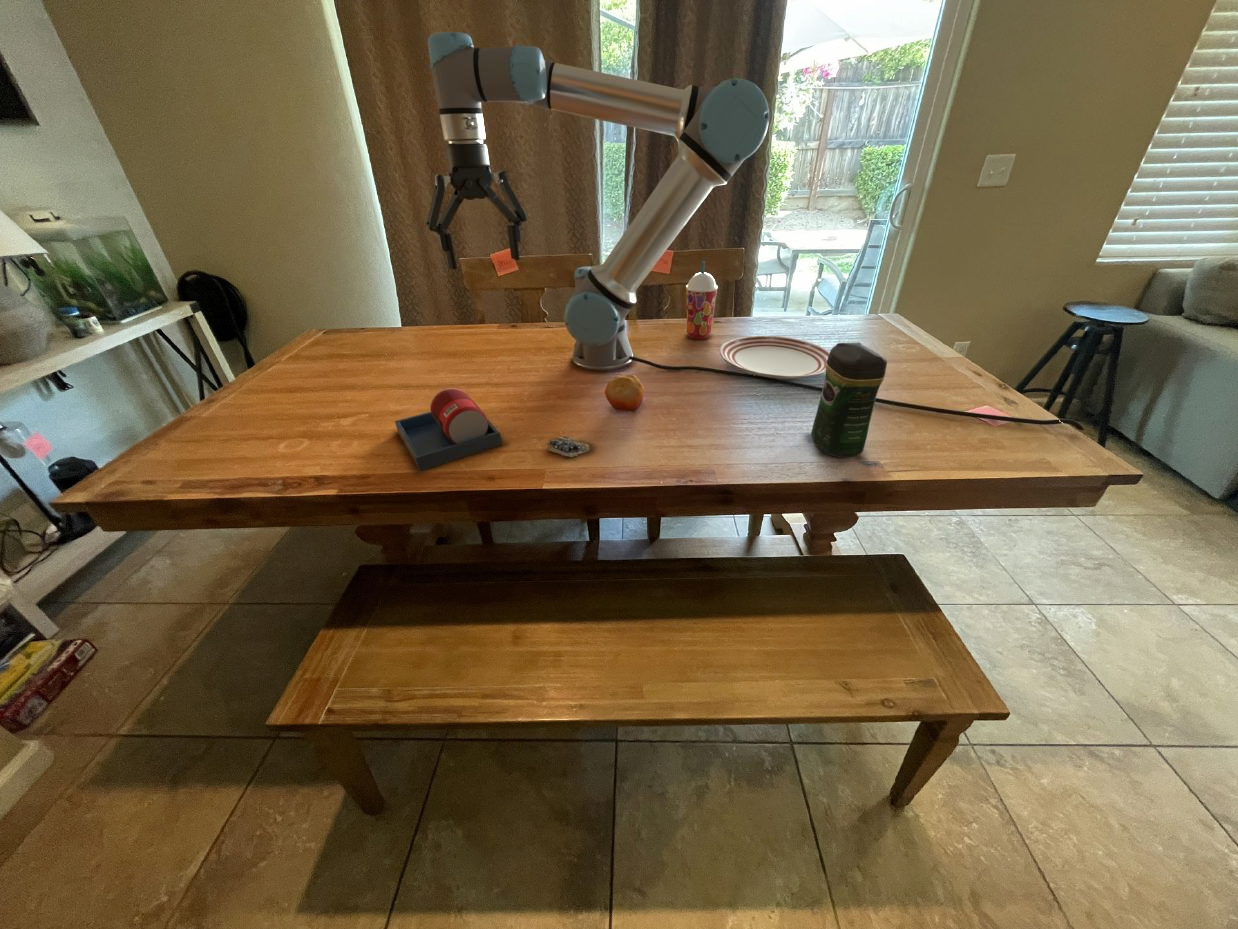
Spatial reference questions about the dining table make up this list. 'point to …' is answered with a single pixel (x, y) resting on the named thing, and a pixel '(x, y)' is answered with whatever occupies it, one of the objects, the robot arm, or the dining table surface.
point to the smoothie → (700, 304)
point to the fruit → (625, 393)
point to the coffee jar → (847, 399)
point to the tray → (439, 441)
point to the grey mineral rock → (567, 446)
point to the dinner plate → (775, 356)
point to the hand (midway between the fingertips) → (485, 263)
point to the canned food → (458, 415)
